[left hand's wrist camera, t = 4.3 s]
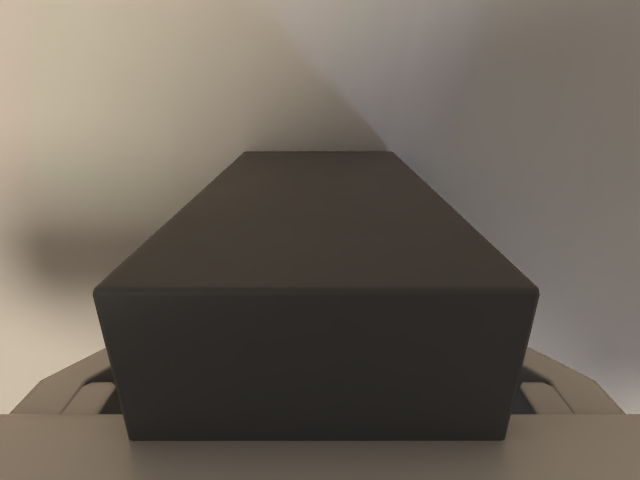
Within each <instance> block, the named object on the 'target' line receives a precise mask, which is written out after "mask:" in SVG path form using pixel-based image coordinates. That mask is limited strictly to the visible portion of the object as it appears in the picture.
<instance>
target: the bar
mask: <svg viewBox="0 0 640 480" xmlns="http://www.w3.org/2000/svg"><path fill="white" fill-rule="evenodd" d="M93 298H94V302H95V306H96V310H97V314H98V318H99V322H100V326H101V330H102V334H103V338H104V342H105V346H106V350H107V354H108V358H109V362H110V366H111V370H112V374H113V378H114V382H115V386H116V390H117V394H118V398H119V402H120V406H121V410H122V414H123V418H124V422H125V426H126V430H127V434H128V438H129V440H131V441H502V440H505V437H506V433H507V428H508V424H509V420H510V416H511V412H512V408H513V403H514V399H515V395H516V391H517V387H518V383H519V378H520V374H521V370H522V366H523V362H524V357H525V353H526V349H527V345H528V341H529V337H530V332H531V328H532V324H533V320H534V316H535V312H536V307H537V303H538V299H539V289H538V287H537V286H536V285H534V284H533V283H532V282H531V281H530V280H529V279H528V278H527V277H526V276H525V275H524V274H523V273H522V272H521V271H519V270H518V269H517V268H516V267H515V266H514V265H513V264H512V263H511V262H510V261H509V260H508V259H507V258H506V257H504V256H503V255H502V254H501V253H500V252H499V251H498V250H497V249H496V248H495V247H494V246H493V245H492V244H491V243H489V242H488V241H487V240H486V239H485V238H484V237H483V236H482V235H481V234H480V233H479V232H478V231H477V230H476V229H474V228H473V227H472V226H471V225H470V224H469V223H468V222H467V221H466V220H465V219H464V218H463V217H462V216H461V215H459V214H458V213H457V212H456V211H455V210H454V209H453V208H452V207H451V206H450V205H449V204H448V203H447V202H446V201H444V200H443V199H442V198H441V197H440V196H439V195H438V194H437V193H436V192H435V191H434V190H433V189H432V188H431V187H429V186H428V185H427V184H426V183H425V182H424V181H423V180H422V179H421V178H420V177H419V176H418V175H417V174H416V173H414V172H413V171H412V170H411V169H410V168H409V167H408V166H407V165H406V164H405V163H404V162H403V161H402V160H401V159H399V158H398V157H397V156H396V155H395V154H394V153H393V152H244V153H243V154H242V155H241V156H240V157H239V158H238V159H237V160H235V161H234V162H233V163H232V164H231V165H230V166H229V167H228V168H227V169H225V170H224V171H223V172H222V173H221V174H220V175H219V176H218V177H217V178H216V179H214V180H213V181H212V182H211V183H210V184H209V185H208V186H207V187H206V188H205V189H203V190H202V191H201V192H200V193H199V194H198V195H197V196H196V197H195V198H193V199H192V200H191V201H190V202H189V203H188V204H187V205H186V206H185V207H184V208H182V209H181V210H180V211H179V212H178V213H177V214H176V215H175V216H174V217H173V218H171V219H170V220H169V221H168V222H167V223H166V224H165V225H164V226H163V227H161V228H160V229H159V230H158V231H157V232H156V233H155V234H154V235H153V236H152V237H150V238H149V239H148V240H147V241H146V242H145V243H144V244H143V245H142V246H141V247H139V248H138V249H137V250H136V251H135V252H134V253H133V254H132V255H131V256H129V257H128V258H127V259H126V260H125V261H124V262H123V263H122V264H121V265H120V266H118V267H117V268H116V269H115V270H114V271H113V272H112V273H111V274H110V275H109V276H107V277H106V278H105V279H104V280H103V281H102V282H101V283H100V284H99V285H97V286H96V287H95V288H94V291H93Z"/></svg>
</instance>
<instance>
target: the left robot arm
mask: <svg viewBox="0 0 640 480" xmlns="http://www.w3.org/2000/svg"><path fill="white" fill-rule="evenodd" d="M0 480H640V414H625V413H624V412H623V410H622V409H621V408H620V407H619V406H618V405H617V404H616V403H615V402H614V401H613V400H612V399H611V398H610V396H609V395H608V394H607V393H606V392H605V391H604V390H603V389H602V388H601V387H600V386H599V385H598V383H597V382H596V381H594V380H592V379H590V378H588V377H586V376H584V375H582V374H580V373H578V372H576V371H574V370H572V369H570V368H568V367H566V366H564V365H563V364H561V363H559V362H557V361H555V360H553V359H551V358H549V357H547V356H545V355H543V354H541V353H539V352H537V351H535V350H533V349H531V348H529V347H527V349H526V353H525V357H524V362H523V366H522V370H521V374H520V378H519V383H518V387H517V391H516V395H515V399H514V403H513V408H512V412H511V416H510V420H509V424H508V428H507V433H506V437H505V440H502V441H131V440H129V438H128V434H127V430H126V426H125V422H124V418H123V414H122V410H121V406H120V402H119V398H118V394H117V390H116V386H115V382H114V378H113V374H112V370H111V366H110V362H109V358H108V354H107V350H106V348H105V349H103V350H101V351H99V352H97V353H95V354H93V355H91V356H89V357H87V358H85V359H83V360H81V361H79V362H77V363H75V364H73V365H71V366H69V367H67V368H65V369H63V370H61V371H59V372H57V373H55V374H53V375H51V376H49V377H47V378H45V379H43V380H41V381H40V382H39V383H38V384H37V385H36V386H35V387H34V388H33V389H32V390H31V391H30V393H29V394H28V395H27V396H26V397H25V398H24V399H23V400H22V401H21V402H20V403H19V404H18V405H17V406H16V407H15V408H14V409H13V410H12V412H11V413H10V414H0Z"/></svg>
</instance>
